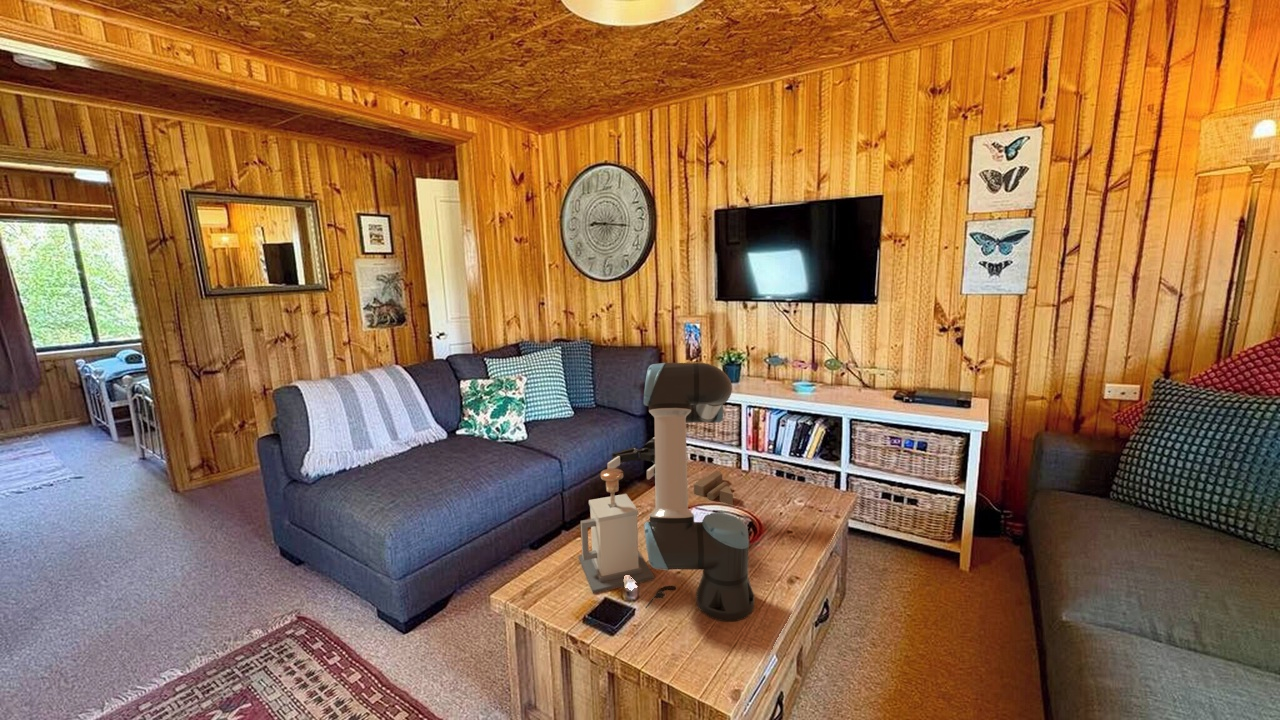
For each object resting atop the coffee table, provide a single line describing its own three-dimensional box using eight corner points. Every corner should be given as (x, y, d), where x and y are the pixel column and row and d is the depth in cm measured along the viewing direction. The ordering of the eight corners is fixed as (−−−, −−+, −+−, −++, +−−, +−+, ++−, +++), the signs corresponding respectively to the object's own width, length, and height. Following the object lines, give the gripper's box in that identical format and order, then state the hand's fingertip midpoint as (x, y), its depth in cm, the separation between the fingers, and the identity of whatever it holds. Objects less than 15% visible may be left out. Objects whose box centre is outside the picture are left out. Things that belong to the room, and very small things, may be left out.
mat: (654, 579, 146) (654, 576, 146) (592, 593, 140) (592, 590, 140) (634, 547, 163) (634, 544, 162) (578, 558, 157) (578, 555, 157)
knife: (663, 584, 144) (663, 582, 144) (676, 588, 142) (676, 586, 142) (639, 615, 132) (639, 613, 132) (653, 620, 130) (653, 618, 130)
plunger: (628, 549, 148) (625, 475, 144) (606, 553, 146) (603, 478, 142) (621, 538, 154) (619, 467, 150) (601, 542, 152) (598, 470, 148)
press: (641, 572, 147) (640, 511, 144) (588, 584, 142) (585, 521, 139) (628, 550, 159) (626, 492, 155) (579, 560, 154) (576, 501, 150)
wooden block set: (692, 482, 197) (715, 467, 211) (692, 495, 198) (715, 480, 212) (731, 493, 187) (753, 476, 201) (731, 507, 188) (753, 490, 202)
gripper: (692, 464, 168) (665, 490, 149) (626, 453, 179) (593, 475, 161) (692, 442, 166) (665, 466, 148) (625, 432, 178) (592, 453, 159)
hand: (627, 471), depth 154 cm, fingers open, 13 cm apart
